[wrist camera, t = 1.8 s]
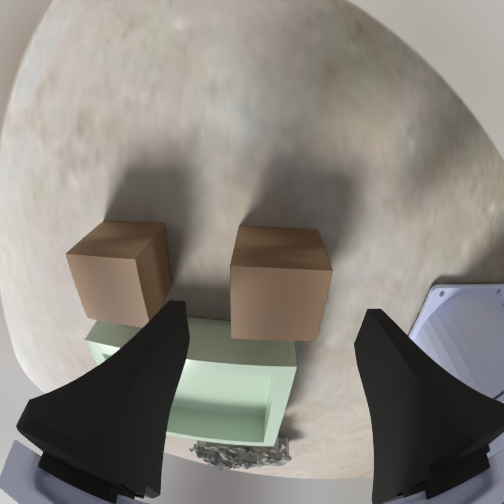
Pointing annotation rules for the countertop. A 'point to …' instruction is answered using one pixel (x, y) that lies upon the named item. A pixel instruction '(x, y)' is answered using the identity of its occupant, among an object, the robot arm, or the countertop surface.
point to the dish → (219, 382)
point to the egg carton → (243, 454)
